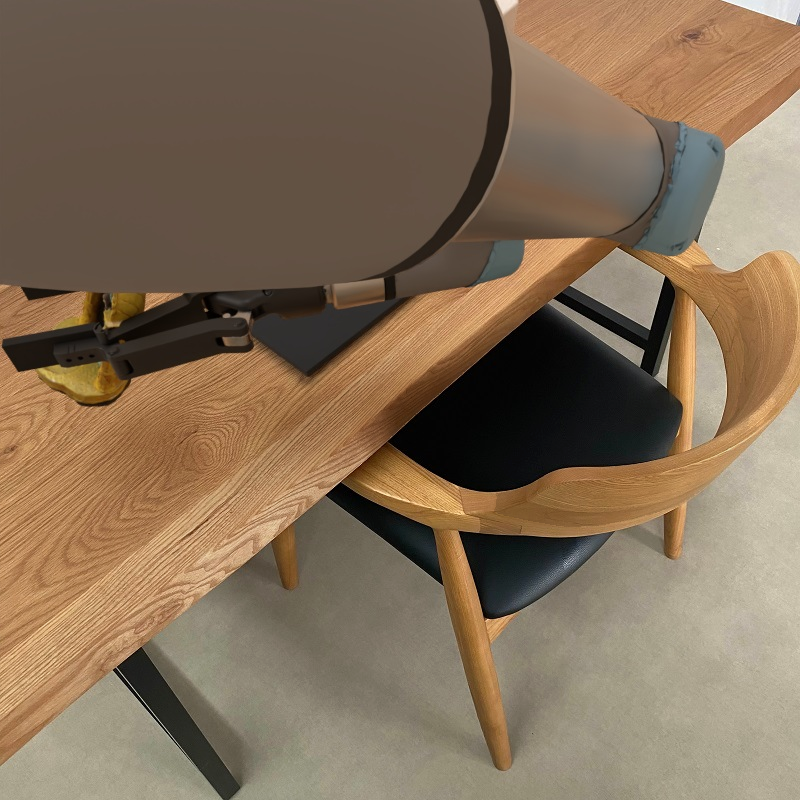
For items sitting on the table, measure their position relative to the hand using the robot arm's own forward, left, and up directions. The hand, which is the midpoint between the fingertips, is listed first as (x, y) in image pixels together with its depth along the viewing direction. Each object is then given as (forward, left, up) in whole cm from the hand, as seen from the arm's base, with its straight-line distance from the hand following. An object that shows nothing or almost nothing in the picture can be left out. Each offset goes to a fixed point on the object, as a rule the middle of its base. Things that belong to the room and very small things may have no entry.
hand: (16, 318), depth 59 cm
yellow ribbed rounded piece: (+1, -5, -8) cm, 10 cm away
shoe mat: (+28, -27, -18) cm, 43 cm away
